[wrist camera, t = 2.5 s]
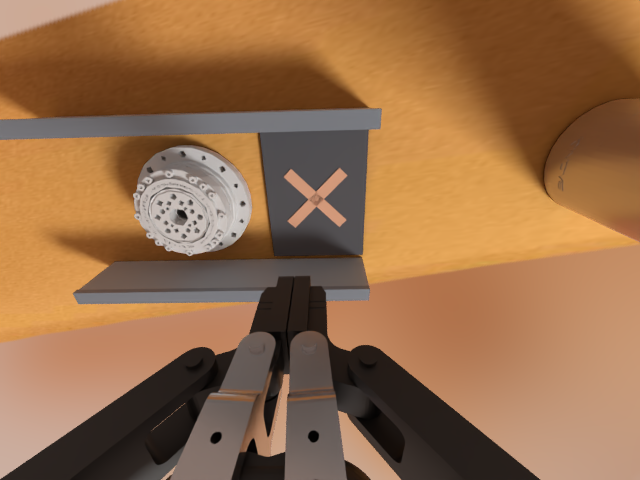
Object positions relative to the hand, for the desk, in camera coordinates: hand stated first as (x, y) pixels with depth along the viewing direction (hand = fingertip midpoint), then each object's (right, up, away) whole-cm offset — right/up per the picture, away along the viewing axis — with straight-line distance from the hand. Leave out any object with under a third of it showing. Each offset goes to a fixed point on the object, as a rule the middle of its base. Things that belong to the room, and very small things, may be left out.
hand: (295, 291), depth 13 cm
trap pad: (+1, +6, +13) cm, 14 cm away
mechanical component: (-10, +6, +13) cm, 18 cm away
